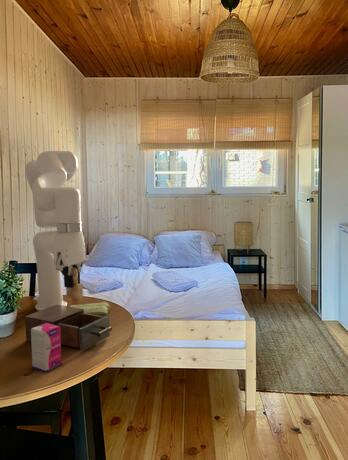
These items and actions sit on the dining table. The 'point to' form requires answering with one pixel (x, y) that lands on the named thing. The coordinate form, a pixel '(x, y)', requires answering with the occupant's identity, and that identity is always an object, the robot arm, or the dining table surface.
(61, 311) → the cabinet
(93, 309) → the washcloth
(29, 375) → the dining table surface
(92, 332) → the drawer
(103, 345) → the dining table surface
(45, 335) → the supplement box
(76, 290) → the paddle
